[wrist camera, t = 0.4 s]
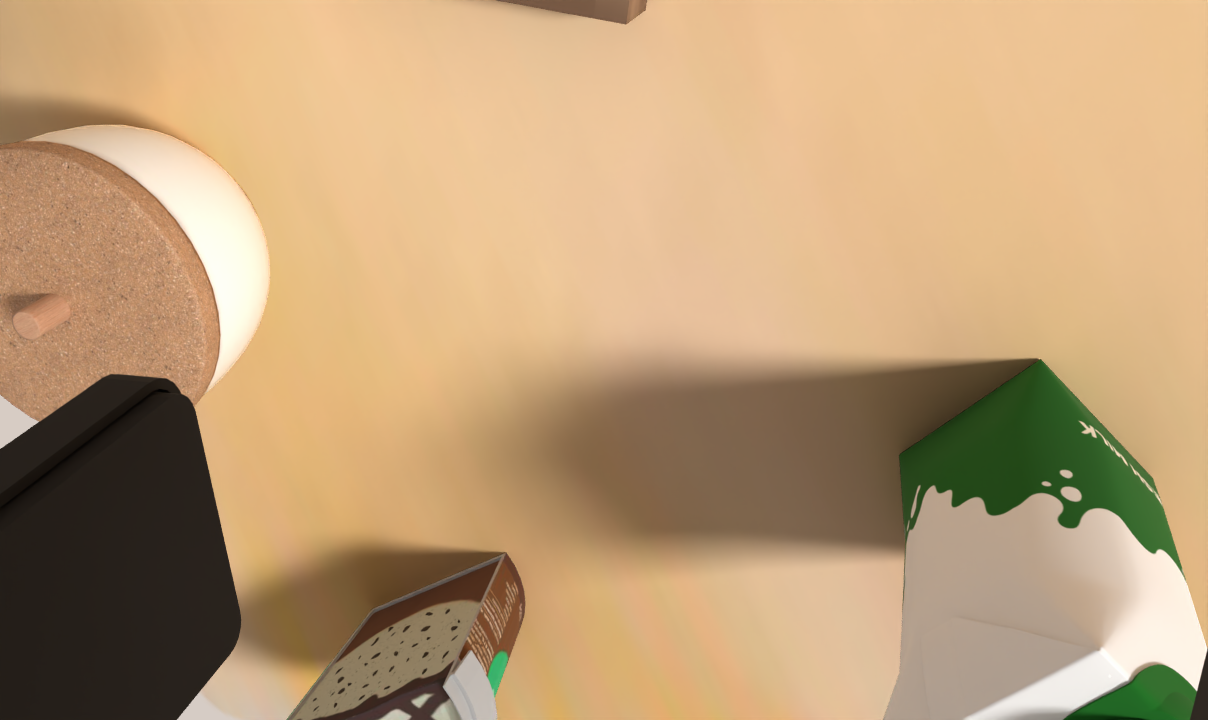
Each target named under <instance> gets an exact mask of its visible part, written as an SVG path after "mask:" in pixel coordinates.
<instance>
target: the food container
mask: <svg viewBox="0 0 1208 720" xmlns="http://www.w3.org/2000/svg"><path fill="white" fill-rule="evenodd" d="M524 613H525V595H524V589H523V585H522V582H521V578H520V576H519V574H518V572H517V570H516V567H515V565H514V564H513V562H512V561H511V559H510V558H509V556H508V554H507V553H504V554H502V555H499V556H497V557H494V558H492V559H490V560H487V561H485V562H483V563H480V564H478V565H475V566H473V567H471V568H468V569H466V570H464V571H461V572H459V573H456V574H454V575H452V576H449V577H447V578H445V579H442V580H440V581H438V582H435V583H433V584H430V585H428V586H426V587H423V588H421V589H419V590H416V591H414V592H411V593H409V594H407V595H404V596H402V597H400V598H397V599H395V600H392V601H390V602H388V603H385V604H383V605H381V606H378V607H376V608H373V609H371V611H370V612H369V613H368V615H367V616H366V617H365V619H364V620H363V621H362V622H361V624H360V625H359V626H358V628H357V629H356V630H355V631H354V633H353V634H352V635H351V637H350V638H349V639H348V641H347V642H346V643H345V644H344V646H343V647H342V648H341V650H340V651H339V652H338V654H337V655H336V656H335V657H334V659H333V660H332V661H331V663H330V664H329V665H328V666H327V668H326V669H325V670H324V672H323V673H322V674H321V676H320V677H319V678H318V679H317V681H316V682H315V683H314V685H313V686H312V687H311V688H310V690H309V691H308V692H307V694H306V695H305V696H304V698H303V699H302V700H301V701H300V703H299V704H298V705H297V707H296V708H295V709H294V711H293V712H292V713H291V714H290V716H289V717H288V718H287V720H497V711H496V703H495V695H496V693H497V690H498V687H499V684H500V682H501V679H502V676H503V674H504V671H505V668H506V665H507V663H508V660H509V657H510V654H511V652H512V649H513V646H514V644H515V641H516V638H517V635H518V633H519V630H520V627H521V624H522V621H523V617H524Z"/></svg>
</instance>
